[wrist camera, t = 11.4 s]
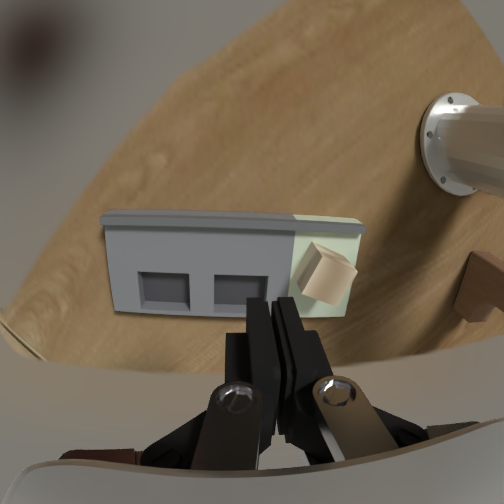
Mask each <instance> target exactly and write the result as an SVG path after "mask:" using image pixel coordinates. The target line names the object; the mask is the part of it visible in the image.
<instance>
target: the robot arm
mask: <svg viewBox="0 0 504 504" xmlns="http://www.w3.org/2000/svg"><path fill="white" fill-rule="evenodd" d="M420 148H421V155H422V159H423V162H424V165H425V168H426V170H427V172H428V174H429V176H430V177H431V179H432V180H433V181H434V183H435V184H436V185H437V186H438V187H439V188H441V189H442V190H444V191H446V192H448V193H450V194H453V195H457V196H467V195H470V194H472V193H474V192H476V191H477V190H481V191H484V192H487V193H490V194H492V195H495V196H498V197H501V198H503V199H504V106H498V105H480V104H479V103H478V102H477V101H476V100H474V99H473V98H472V97H470V96H468V95H466V94H462V93H446V94H443V95H441V96H439V97H437V98H436V99H435V100H434V101H433V102H432V103H431V104H430V105H429V107H428V108H427V110H426V112H425V114H424V117H423V120H422V124H421V131H420ZM276 419H277V425H278V432H279V435H285V440H286V443H291V444H293V445H295V446H296V447H298V448H300V450H299V452H300V456H301V459H302V461H303V464H304V466H302V467H293V468H282V469H267V470H258V466H259V456H260V454H261V453H262V452H263V451H264V450H265V449H267V448H268V447H269V446H270V445H271V437H272V435H274V434H275V426H276ZM1 504H504V418H499V419H493V420H489V421H485V422H482V423H480V422H477V421H469V422H462V423H454V424H444V425H432V426H427V427H426V428H425V429H422V428H421V427H420V426H418V425H416V424H414V423H411V422H409V421H406V420H404V419H402V418H399V417H397V416H394V415H392V414H390V413H387V412H385V411H383V410H380V409H378V408H376V407H374V406H372V405H371V404H370V403H369V401H368V399H367V398H366V396H365V395H364V393H363V392H362V390H361V389H360V387H359V386H358V385H357V384H356V383H355V382H354V381H352V380H350V379H349V378H345V377H342V376H334V375H333V372H332V370H331V367H330V365H329V362H328V359H327V357H326V354H325V351H324V349H323V346H322V344H321V341H320V338H319V336H318V333H317V331H315V330H310V331H304V328H303V325H302V322H301V319H300V316H299V313H298V310H297V307H296V304H295V301H294V298H293V297H278V298H277V301H272V304H271V316H270V311H269V306H268V301H262V297H247V298H246V333H226V348H225V383H224V384H222V385H220V386H218V387H217V388H216V389H215V390H214V391H213V392H212V394H211V396H210V400H209V404H208V407H207V410H205V411H204V412H202V413H201V414H199V415H198V416H196V417H195V418H193V419H192V420H190V421H189V422H187V423H186V424H184V425H182V426H181V427H179V428H178V429H176V430H175V431H173V432H171V433H170V434H168V435H167V436H165V437H163V438H161V439H160V440H158V441H157V442H155V443H153V444H152V445H150V446H149V447H147V448H146V449H145V450H144V451H135V450H134V448H129V449H104V450H103V449H102V450H84V449H76V450H69V451H67V452H66V453H63V454H62V456H61V457H60V458H59V460H52V461H45V462H40V463H36V464H33V465H30V466H28V467H27V468H25V469H24V470H22V471H21V472H20V473H19V475H17V477H16V478H15V480H14V481H13V482H12V484H11V486H10V487H9V489H8V491H7V493H6V495H5V497H4V499H3V501H2V503H1Z"/></svg>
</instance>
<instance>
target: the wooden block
mask: <svg viewBox="0 0 504 504" xmlns="http://www.w3.org/2000/svg"><path fill="white" fill-rule="evenodd" d="M495 307H498V308H499V309H500V310H501V311H502V312H504V262H503V261H501V260H500V259H498V258H497V257H495V256H493V255H492V254H490V253H485V252H477V251H472V252H471V254H470V258H469V261H468V264H467V268H466V271H465V274H464V277H463V280H462V283H461V286H460V289H459V291H458V294H457V297H456V300H455V302H454V305H453V308H454V309H455V310H456V311H457V312H458V313H459V314H460V315H461V316H462V317H463V318H464V319H465V320H466V321H467V322H469V323H471V322H483V321H487V319H488V318H489V316H490V314H491V313H492V311H493V309H494V308H495Z"/></svg>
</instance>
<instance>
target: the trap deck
mask: <svg viewBox="0 0 504 504" xmlns="http://www.w3.org/2000/svg"><path fill="white" fill-rule="evenodd" d="M100 225H104V229H105V241H106V251H107V260H108V268H109V276H110V283H111V290H112V297H113V303H114V309H115V311H124V312H138V313H153V314H170V315H190V316H216V317H246V298H247V297H262V301H268V306H269V311H270V316H271V304H272V301H277V298H278V297H293V298H294V301H295V304H296V307H297V310H298V313H299V316H300V317H345V312H346V308H347V304H348V299H349V294H350V290H351V285H352V283H351V285H350V286H349V288H348V290H347V291H346V293H345V294H344V296H343V298H342V299H341V301H340V303H339V304H338V306H337V307H336V306H333V305H330V304H328V303H325V302H322V301H320V300H317V299H314V298H312V297H309V296H306V295H304V294H301V291H300V289H299V287H298V284H297V282H296V280H295V277H294V273H295V271H296V270H297V268H298V266H299V264H300V262H301V260H302V259H303V257H304V255H305V253H306V251H307V249H308V247H309V245H310V244H311V242H315V243H317V244H319V245H321V246H324V247H326V248H328V249H330V250H332V251H335V252H337V253H339V254H341V255H343V256H345V257H346V259H347V260H348V261H349V262H350V263H351V264H352V266H353V267H354V268H355V265H356V260H357V254H358V249H359V243H360V237H361V234H365V233H366V226H365V225H364V224H362V223H361V222H360V221H358V220H357V219H356V218H342V217H327V216H311V215H293V214H274V213H251V212H225V211H191V210H109V211H107V212H106V213H105V214H103V215H102V216H100Z"/></svg>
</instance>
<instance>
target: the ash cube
mask: <svg viewBox="0 0 504 504" xmlns="http://www.w3.org/2000/svg"><path fill="white" fill-rule="evenodd" d="M357 273H358V271H357V270H356V269H355V268H354V267H353V266H352V264H351V263H350V262H349V261H348V260H347V259H346V257H345V256H343V255H341V254H339V253H337V252H335V251H332V250H330V249H328V248H326V247H324V246H321V245H319V244H317V243H315V242H311V244H310V245H309V247H308V249H307V251H306V253H305V255H304V257H303V259H302V260H301V262H300V264H299V266H298V268H297V270H296V271H295V273H294V277H295V280H296V282H297V284H298V287H299V289H300V291H301V294H304V295H306V296H309V297H312V298H314V299H317V300H320V301H322V302H325V303H328V304H330V305H333V306H336V307H337V306H338V304H339V303H340V301H341V299H342V298H343V296H344V294H345V293H346V291H347V290H348V288H349V286H350V285H351V283H352V281H353V279H354V278H355V276H356V274H357Z"/></svg>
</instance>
